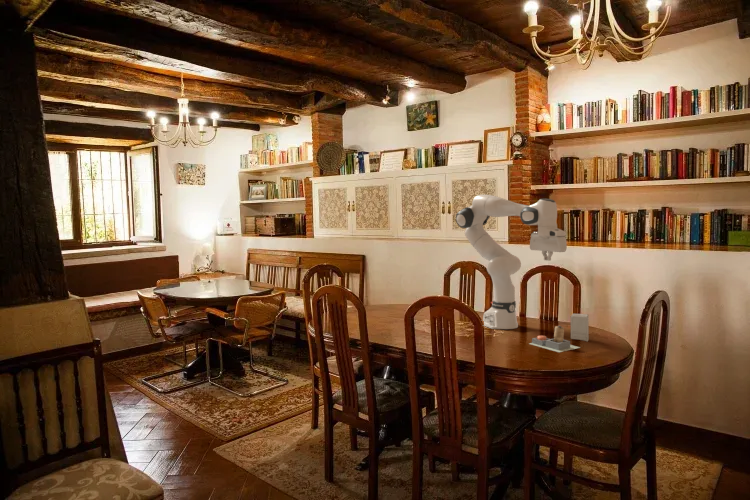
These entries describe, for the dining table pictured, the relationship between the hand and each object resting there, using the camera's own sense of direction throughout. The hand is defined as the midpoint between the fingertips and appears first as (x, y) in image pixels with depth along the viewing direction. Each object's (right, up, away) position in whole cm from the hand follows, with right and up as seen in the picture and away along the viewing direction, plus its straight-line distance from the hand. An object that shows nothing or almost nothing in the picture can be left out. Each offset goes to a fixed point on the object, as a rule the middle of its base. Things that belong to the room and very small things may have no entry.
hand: (547, 260), depth 255 cm
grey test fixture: (-2, -40, -14) cm, 43 cm away
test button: (-6, -38, -11) cm, 40 cm away
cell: (-1, -39, -18) cm, 43 cm away
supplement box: (+15, -39, -1) cm, 42 cm away
